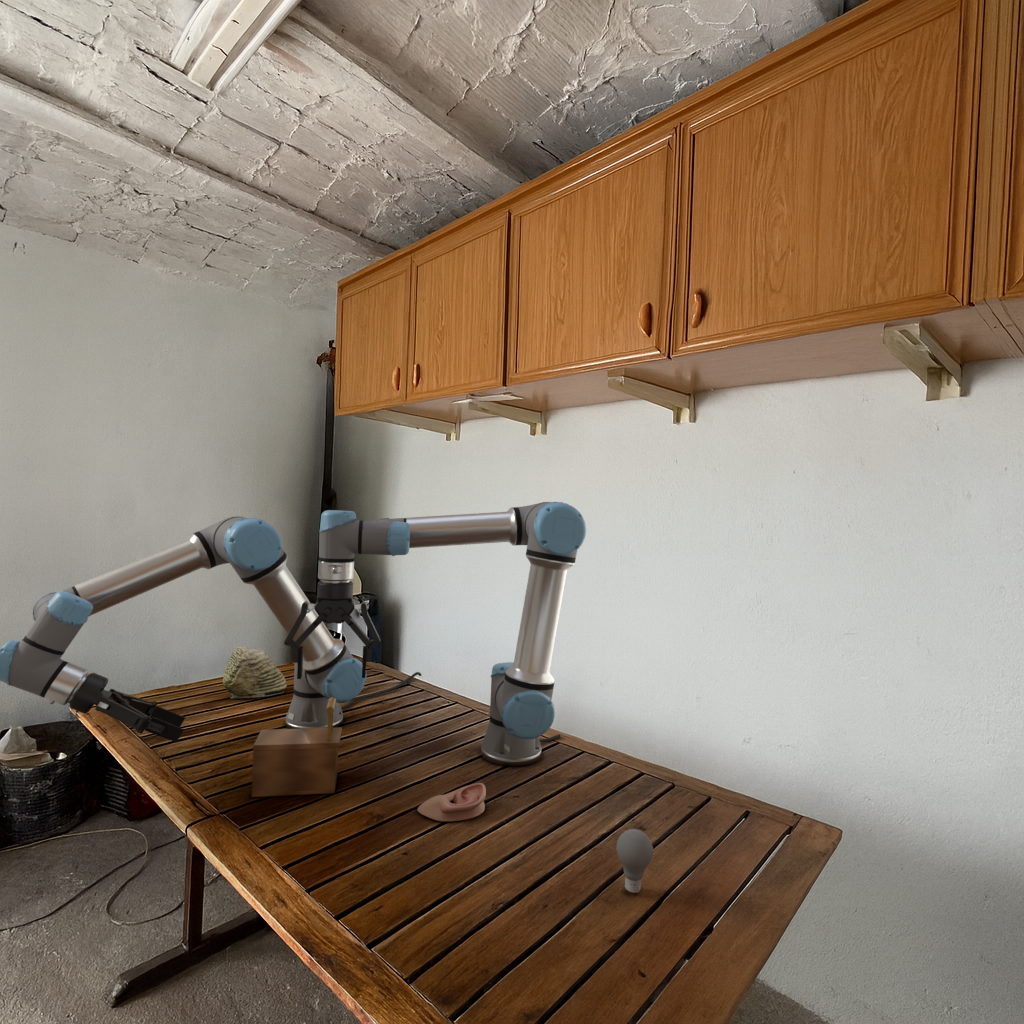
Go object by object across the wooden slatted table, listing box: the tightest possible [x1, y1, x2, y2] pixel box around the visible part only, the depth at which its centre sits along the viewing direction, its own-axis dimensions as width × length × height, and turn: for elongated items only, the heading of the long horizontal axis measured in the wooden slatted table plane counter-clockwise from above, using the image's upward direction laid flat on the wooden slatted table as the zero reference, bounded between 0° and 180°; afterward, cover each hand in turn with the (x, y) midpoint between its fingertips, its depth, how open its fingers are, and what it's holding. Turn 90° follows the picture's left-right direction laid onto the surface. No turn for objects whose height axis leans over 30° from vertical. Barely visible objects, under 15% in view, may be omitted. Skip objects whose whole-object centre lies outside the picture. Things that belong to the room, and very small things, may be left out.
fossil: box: [222, 646, 288, 699], centre depth 198 cm, size 9×18×15 cm, turn 132°
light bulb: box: [615, 828, 654, 894], centre depth 106 cm, size 6×6×10 cm
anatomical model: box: [417, 782, 487, 822], centre depth 131 cm, size 13×4×12 cm
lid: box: [252, 697, 343, 752], centre depth 138 cm, size 17×9×8 cm, turn 102°
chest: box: [251, 748, 339, 798], centre depth 138 cm, size 17×9×10 cm, turn 102°
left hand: (181, 729), depth 135 cm, fingers open, 13 cm apart
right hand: (332, 677), depth 139 cm, fingers open, 13 cm apart
